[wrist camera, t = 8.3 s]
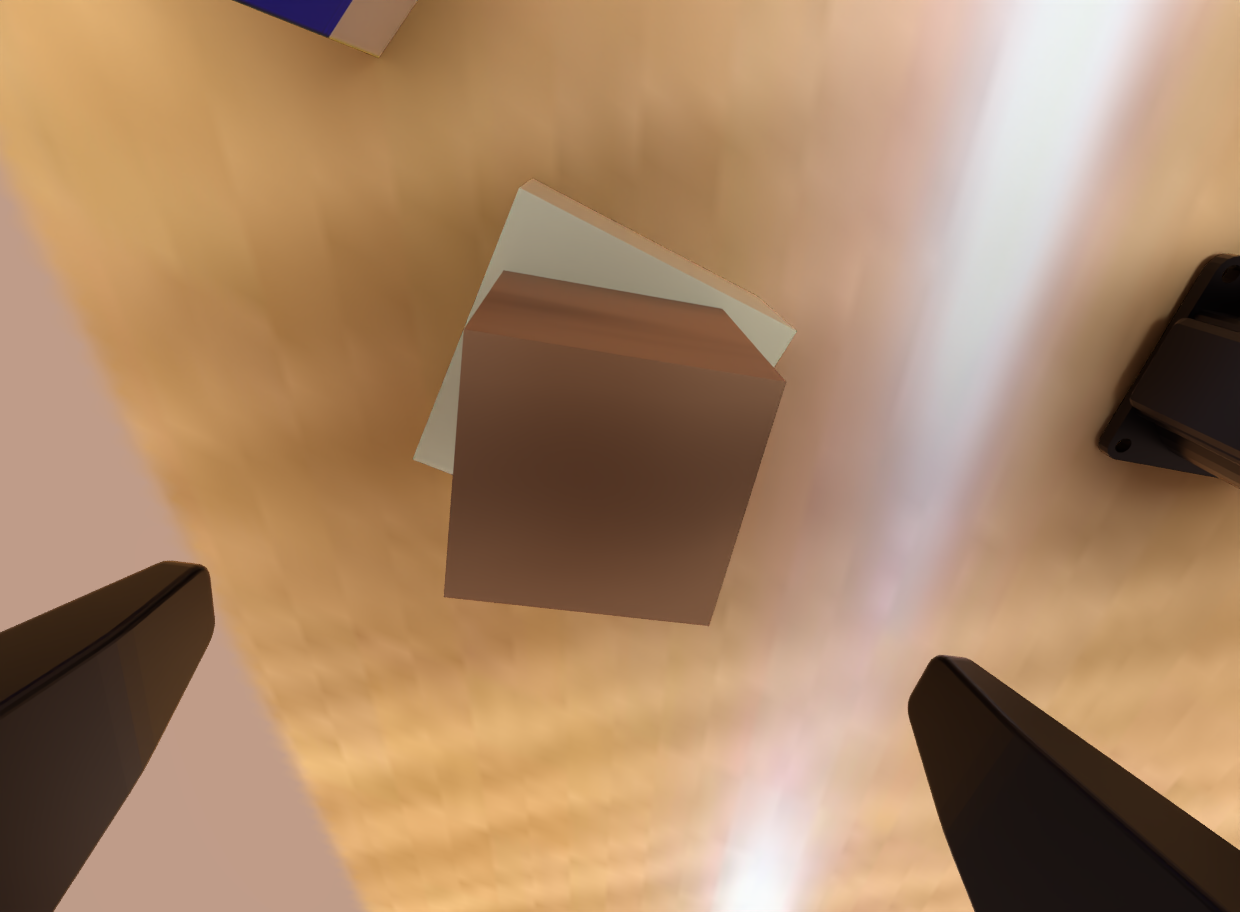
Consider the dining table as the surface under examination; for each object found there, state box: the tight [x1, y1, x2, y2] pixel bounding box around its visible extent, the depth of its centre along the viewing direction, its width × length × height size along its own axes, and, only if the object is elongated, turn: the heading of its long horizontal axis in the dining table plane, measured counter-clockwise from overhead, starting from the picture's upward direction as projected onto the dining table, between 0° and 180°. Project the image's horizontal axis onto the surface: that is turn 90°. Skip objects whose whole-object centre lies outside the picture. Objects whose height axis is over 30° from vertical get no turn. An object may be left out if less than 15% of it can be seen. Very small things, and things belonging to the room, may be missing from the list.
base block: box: [413, 178, 797, 475], centre depth 17 cm, size 7×7×4 cm
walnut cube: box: [444, 270, 786, 626], centre depth 13 cm, size 5×5×5 cm
